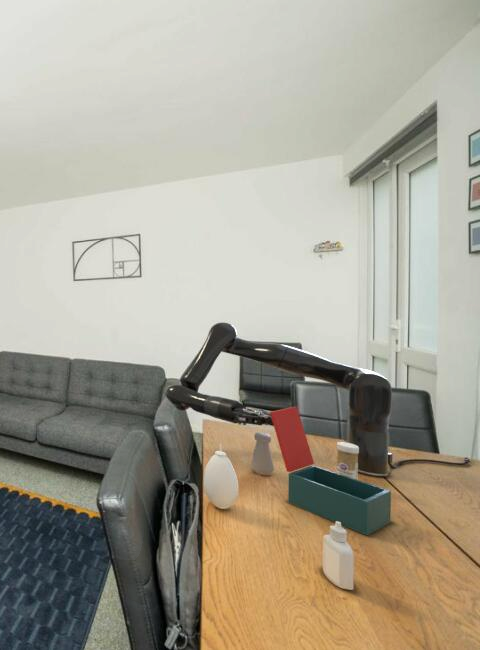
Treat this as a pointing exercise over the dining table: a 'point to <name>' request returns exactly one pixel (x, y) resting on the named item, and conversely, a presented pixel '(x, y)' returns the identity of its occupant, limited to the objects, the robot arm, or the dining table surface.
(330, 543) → the eye dropper bottle
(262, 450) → the salt shaker
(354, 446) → the sprinkles bottle
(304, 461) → the lid
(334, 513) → the lunchbox
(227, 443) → the dining table surface
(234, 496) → the sauce bottle
